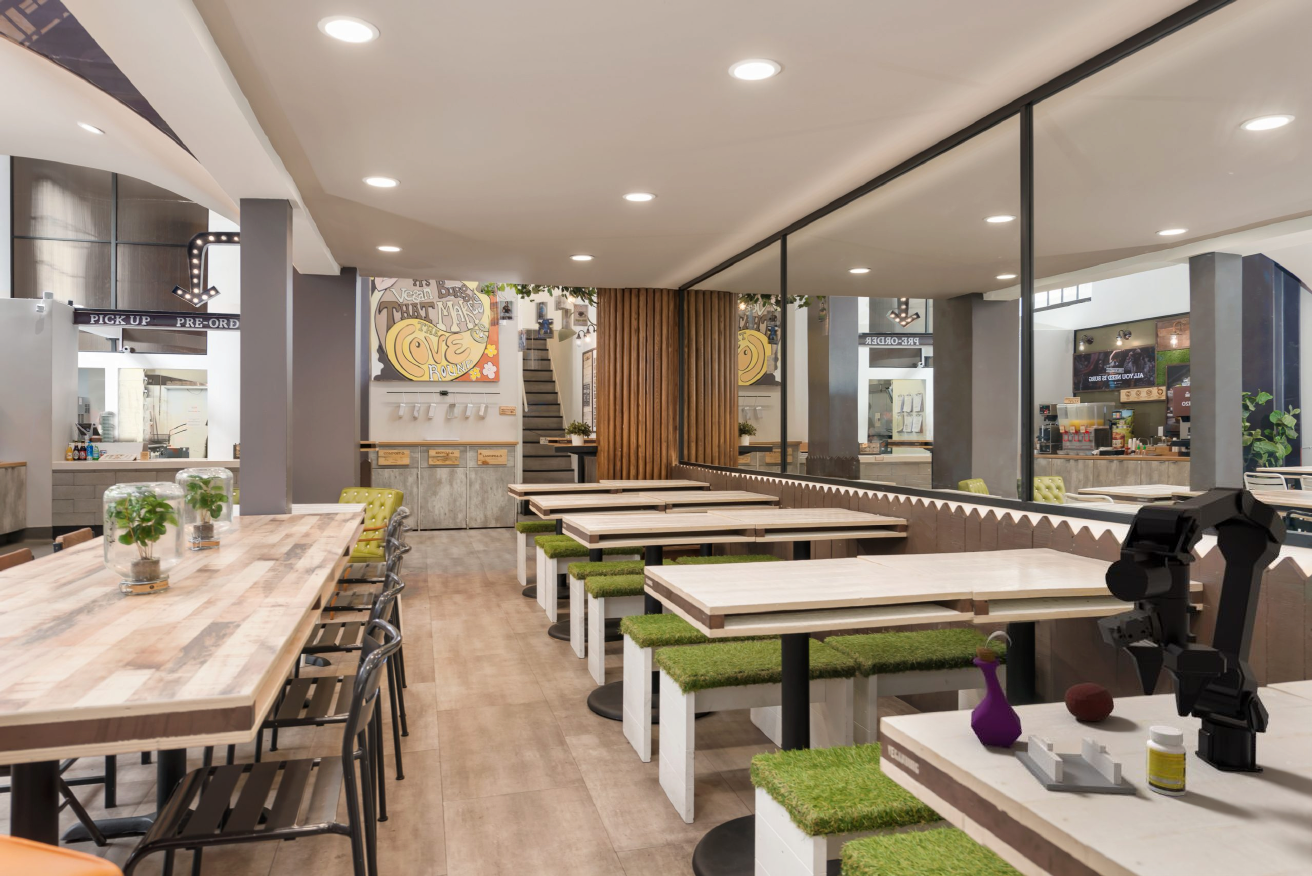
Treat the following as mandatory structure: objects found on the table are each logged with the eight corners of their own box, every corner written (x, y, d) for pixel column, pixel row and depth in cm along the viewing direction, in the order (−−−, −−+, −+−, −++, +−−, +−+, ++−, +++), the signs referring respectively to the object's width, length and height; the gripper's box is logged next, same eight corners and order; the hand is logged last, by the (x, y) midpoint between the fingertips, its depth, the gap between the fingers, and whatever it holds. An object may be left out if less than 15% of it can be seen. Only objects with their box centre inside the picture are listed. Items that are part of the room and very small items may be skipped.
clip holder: (1095, 760, 124) (1096, 728, 124) (1135, 793, 112) (1136, 759, 112) (1015, 756, 125) (1015, 725, 125) (1046, 789, 113) (1047, 755, 113)
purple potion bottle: (970, 746, 129) (971, 634, 129) (971, 731, 136) (972, 624, 136) (1021, 753, 127) (1023, 638, 127) (1019, 738, 133) (1021, 629, 134)
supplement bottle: (1191, 798, 111) (1192, 737, 111) (1153, 795, 112) (1154, 734, 112) (1176, 784, 116) (1177, 725, 116) (1140, 781, 117) (1141, 722, 117)
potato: (1054, 717, 144) (1054, 683, 144) (1084, 707, 150) (1085, 674, 150) (1095, 730, 138) (1095, 694, 138) (1125, 719, 144) (1126, 684, 144)
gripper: (1077, 582, 124) (1077, 683, 124) (1139, 607, 106) (1138, 726, 106) (1153, 584, 123) (1152, 686, 123) (1229, 609, 105) (1228, 729, 105)
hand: (1164, 705), depth 114 cm, fingers open, 9 cm apart
